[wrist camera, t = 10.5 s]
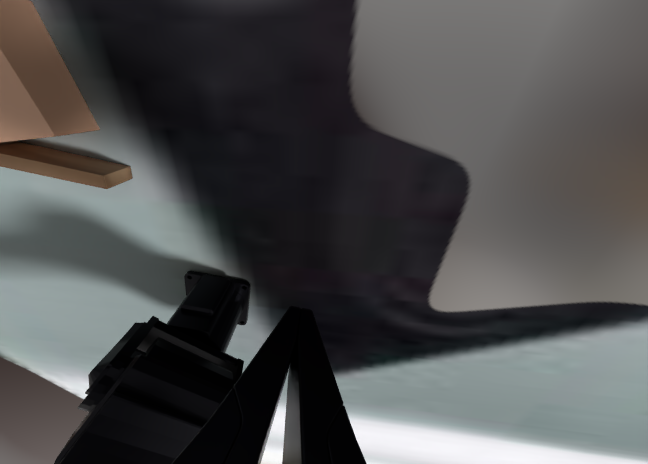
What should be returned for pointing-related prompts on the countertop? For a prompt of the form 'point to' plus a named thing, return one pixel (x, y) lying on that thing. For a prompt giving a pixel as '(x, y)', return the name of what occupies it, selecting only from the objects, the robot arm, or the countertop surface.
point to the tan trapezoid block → (35, 80)
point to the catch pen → (62, 165)
